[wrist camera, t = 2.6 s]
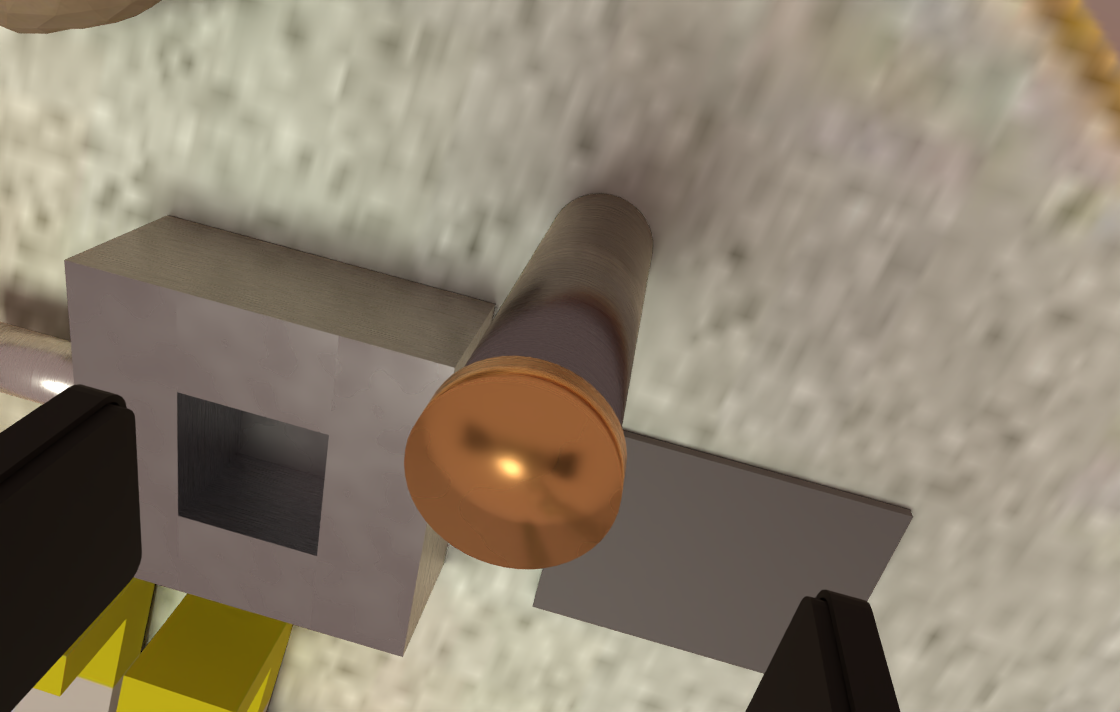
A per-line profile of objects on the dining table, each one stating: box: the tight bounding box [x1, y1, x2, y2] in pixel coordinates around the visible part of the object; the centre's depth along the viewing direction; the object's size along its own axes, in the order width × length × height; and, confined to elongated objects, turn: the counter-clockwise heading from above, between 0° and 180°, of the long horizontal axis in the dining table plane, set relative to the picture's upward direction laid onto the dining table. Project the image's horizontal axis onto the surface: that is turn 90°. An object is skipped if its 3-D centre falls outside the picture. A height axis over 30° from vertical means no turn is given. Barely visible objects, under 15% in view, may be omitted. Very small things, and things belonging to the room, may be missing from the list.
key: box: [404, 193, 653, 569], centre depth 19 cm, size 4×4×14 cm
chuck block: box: [0, 215, 495, 657], centre depth 28 cm, size 19×12×5 cm, turn 77°
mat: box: [533, 430, 913, 674], centre depth 30 cm, size 12×9×1 cm
